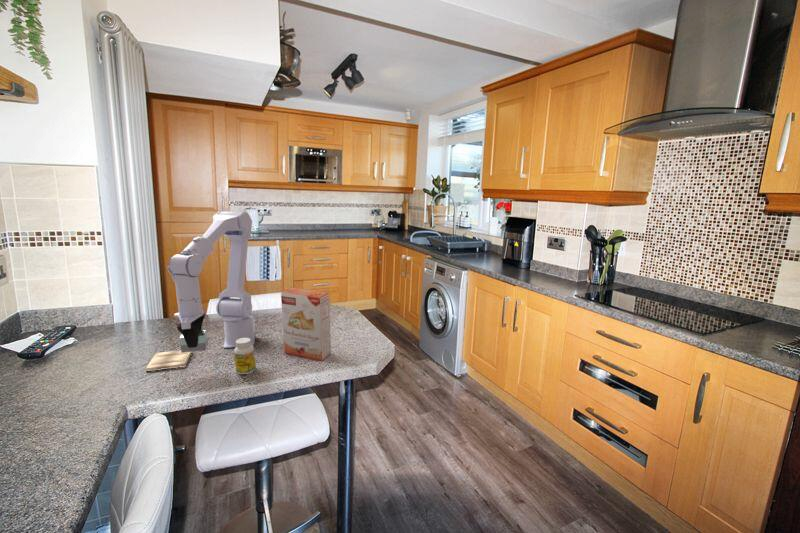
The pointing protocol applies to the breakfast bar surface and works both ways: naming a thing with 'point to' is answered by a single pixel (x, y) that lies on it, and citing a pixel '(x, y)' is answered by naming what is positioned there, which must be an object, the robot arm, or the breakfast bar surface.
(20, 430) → the breakfast bar surface
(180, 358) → the plate
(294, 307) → the cracker box
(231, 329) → the robot arm
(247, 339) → the supplement bottle
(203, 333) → the housing
